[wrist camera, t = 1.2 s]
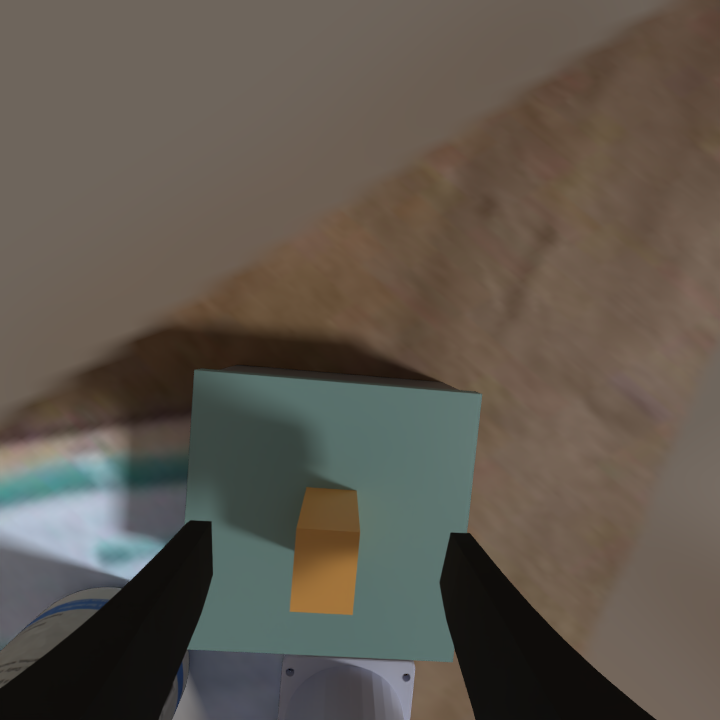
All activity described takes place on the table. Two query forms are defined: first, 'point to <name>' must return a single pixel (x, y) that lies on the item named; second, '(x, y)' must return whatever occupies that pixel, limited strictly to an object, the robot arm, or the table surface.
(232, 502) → the lid
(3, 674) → the supplement tub
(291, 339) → the table surface
